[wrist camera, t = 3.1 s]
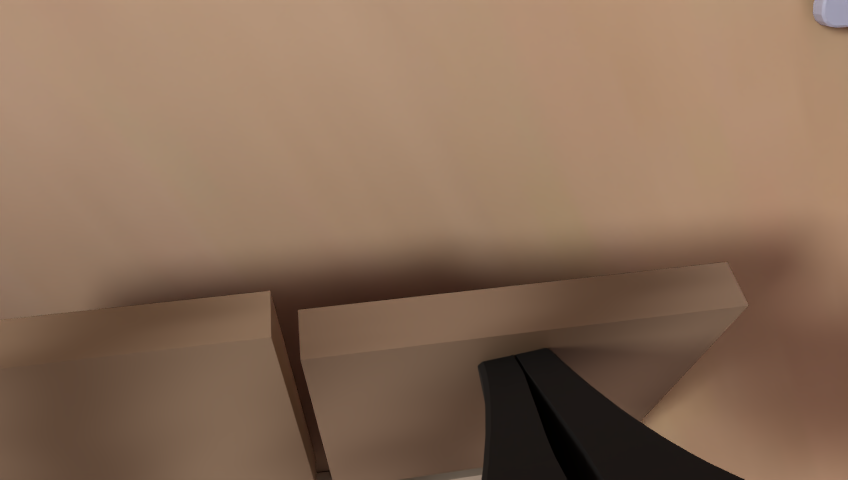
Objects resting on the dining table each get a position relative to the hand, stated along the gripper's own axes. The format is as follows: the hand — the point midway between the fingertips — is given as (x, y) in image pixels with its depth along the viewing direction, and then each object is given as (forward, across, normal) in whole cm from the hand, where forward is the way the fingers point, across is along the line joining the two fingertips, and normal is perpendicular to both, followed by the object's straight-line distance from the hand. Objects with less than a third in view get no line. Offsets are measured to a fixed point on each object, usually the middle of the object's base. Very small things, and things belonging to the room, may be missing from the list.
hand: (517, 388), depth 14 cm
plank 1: (+3, +9, 0) cm, 9 cm away
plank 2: (+2, 0, +2) cm, 3 cm away
